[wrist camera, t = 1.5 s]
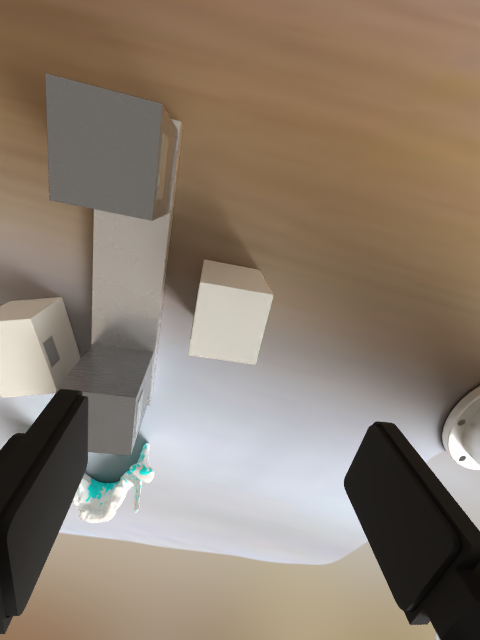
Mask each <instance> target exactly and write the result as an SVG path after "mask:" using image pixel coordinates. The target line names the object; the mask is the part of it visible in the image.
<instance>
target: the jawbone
mask: <svg viewBox="0 0 480 640" xmlns="http://www.w3.org/2000/svg"><path fill="white" fill-rule="evenodd" d="M149 450H150V444H149V443H145V444H144V445H143V448H142V452H141V453H140V457H139V460H138V462H137V464H133V465H132V466H131V467H130V470H128V471H127V472H125V473H124V475H122V476H121V478H120V481H118V482H115V483H102V482H98V481H96V480H95V479H93V478H91V477H90V476H88V475H87V474H86V473H84V476H83V478H82V480H81V483H80V485H79V487H78V489H77V492H76V494H75V496H74V499H73V503H74V505H76V506H77V509H78V510H80V513H79V517H80V518H81V519H82V520H85V521H86V522H90V523H98V522H101V523H102V522H103V521H104V522H107V521H110V520H111V519H112V517H113V516H114V515H115V513H116V510H117V508H118V507H119V506H120V505H121V504H122V502H123V500H124V498H125V496H126V494H127V493H126V492H127V491H128V490H129V489H130V488H131V487H132V486H133V485H134V512H135V513H136V512H138V511H139V501H140V494H141V485H142V481H143V482H145V483H149V482H150V481H152V479H153V477H154V470H153V469H152V468H151V467H150V465H149V457H148V452H149Z"/></svg>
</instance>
